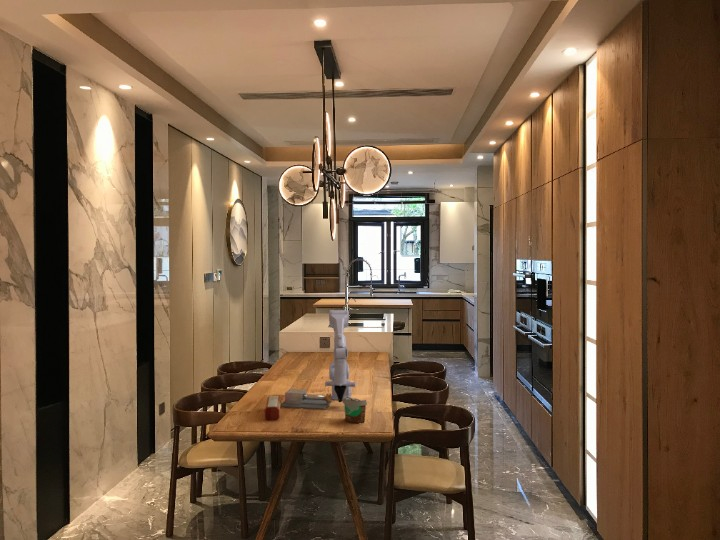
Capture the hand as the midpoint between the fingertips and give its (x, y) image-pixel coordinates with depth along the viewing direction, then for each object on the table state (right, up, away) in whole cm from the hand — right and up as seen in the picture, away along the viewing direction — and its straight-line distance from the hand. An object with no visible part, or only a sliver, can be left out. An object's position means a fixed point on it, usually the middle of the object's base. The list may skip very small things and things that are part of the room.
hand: (340, 401), depth 263 cm
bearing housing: (-22, -2, +4) cm, 22 cm away
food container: (+6, -3, -24) cm, 25 cm away
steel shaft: (-13, -1, +2) cm, 13 cm away
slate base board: (-17, -2, +3) cm, 17 cm away
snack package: (-30, -3, -13) cm, 33 cm away
